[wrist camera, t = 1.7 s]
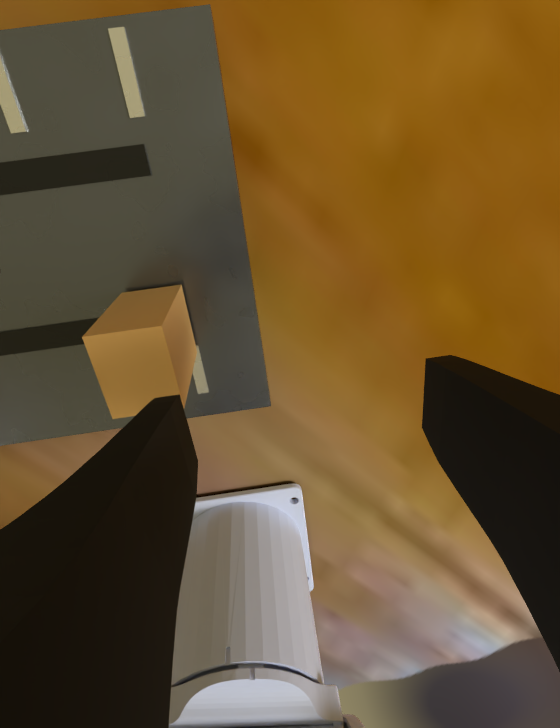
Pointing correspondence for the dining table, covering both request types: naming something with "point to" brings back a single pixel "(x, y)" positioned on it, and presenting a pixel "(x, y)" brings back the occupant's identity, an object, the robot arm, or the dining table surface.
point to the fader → (142, 349)
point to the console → (117, 213)
